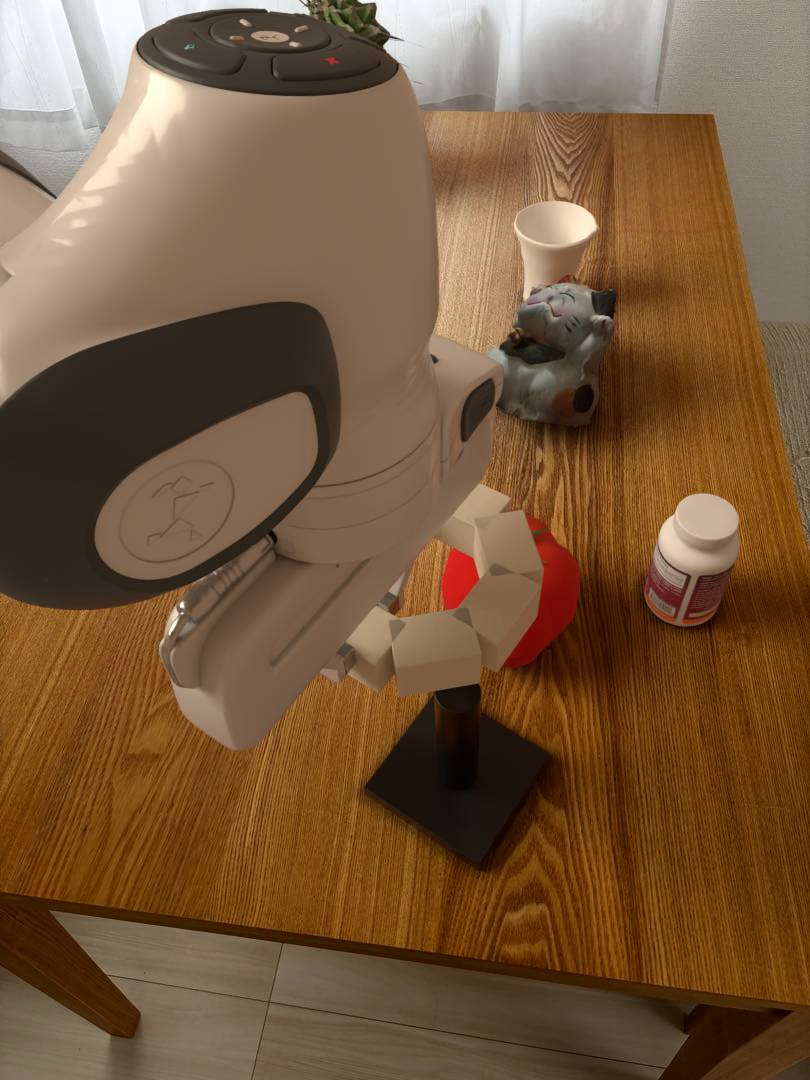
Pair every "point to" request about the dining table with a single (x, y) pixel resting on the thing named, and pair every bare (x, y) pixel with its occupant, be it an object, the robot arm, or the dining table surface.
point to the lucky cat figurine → (556, 353)
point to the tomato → (554, 596)
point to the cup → (552, 241)
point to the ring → (460, 607)
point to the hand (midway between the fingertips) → (361, 637)
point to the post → (457, 774)
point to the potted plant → (351, 18)
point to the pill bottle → (693, 560)
